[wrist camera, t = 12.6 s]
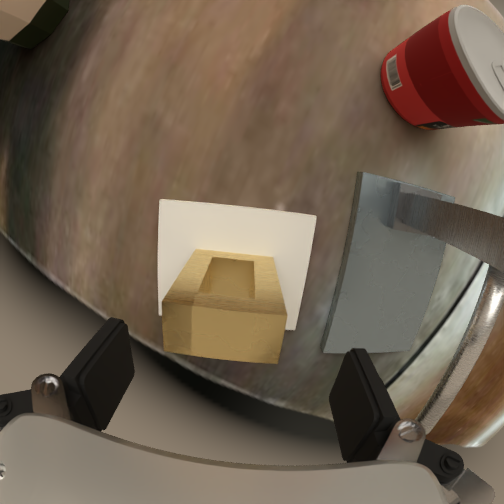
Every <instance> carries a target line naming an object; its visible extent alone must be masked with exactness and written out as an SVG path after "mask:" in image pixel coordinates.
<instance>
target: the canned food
mask: <svg viewBox="0 0 504 504" xmlns="http://www.w3.org/2000/svg"><path fill="white" fill-rule="evenodd" d="M381 83H382V86H383V90H384V92H385V95H386V97H387V99H388V101H389V102H390V104H391V106H392V107H393V108H394V110H395V111H396V112H397V113H398V114H399V115H400V116H401V117H402V118H403V119H404V120H406V121H407V122H408V123H410V124H412V125H414V126H416V127H419V128H422V129H426V130H436V129H445V128H454V127H464V126H476V125H491V124H504V33H503V32H502V30H501V29H500V28H499V27H498V26H497V25H496V24H495V23H494V22H493V21H492V20H491V19H490V18H489V17H488V16H487V15H486V14H484V13H483V12H481V11H480V10H478V9H476V8H474V7H472V6H469V5H460V6H458V7H455V8H453V9H451V10H450V11H448V12H446V13H444V14H443V15H441V16H440V17H438V18H437V19H435V20H434V21H432V22H431V23H429V24H428V25H426V26H425V27H423V28H422V29H421V30H419V31H418V32H416V33H415V34H413V35H412V36H411V37H409V38H408V39H406V40H405V41H404V42H402V43H401V44H400V45H398V46H397V47H396V48H394V49H393V50H392V51H390V52H389V53H388V54H387V56H386V57H385V59H384V61H383V64H382V67H381Z"/></svg>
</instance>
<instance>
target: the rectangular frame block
mask: <svg viewBox="0 0 504 504" xmlns="http://www.w3.org/2000/svg"><path fill="white" fill-rule="evenodd" d="M287 317H288V315H287V311H286V307H285V303H284V299H283V295H282V291H281V287H280V283H279V279H278V275H277V271H276V267H275V263H274V259H273V257H269V256H259V255H250V254H241V253H231V252H222V251H213V250H203V249H195V251H194V252H193V254H192V255H191V257H190V258H189V260H188V261H187V263H186V264H185V266H184V267H183V269H182V270H181V272H180V274H179V275H178V277H177V278H176V280H175V281H174V283H173V284H172V286H171V288H170V289H169V291H168V292H167V294H166V295H165V297H164V299H163V300H162V326H163V342H164V351H167V352H173V353H179V354H186V355H192V356H199V357H207V358H215V359H224V360H233V361H244V362H256V363H271V364H278V360H279V355H280V350H281V346H282V341H283V336H284V331H285V326H286V322H287Z"/></svg>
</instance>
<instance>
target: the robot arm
mask: <svg viewBox="0 0 504 504" xmlns="http://www.w3.org/2000/svg"><path fill="white" fill-rule="evenodd" d="M133 377H134V364H133V359H132V353H131V347H130V340H129V332H128V326H127V324H125V323H124V321H123V320H121V319H116V318H112V317H111V318H109V319H108V321H107V322H106V323H105V324H104V325H103V326H102V327H101V329H100V330H99V331H98V332H97V333H96V334H95V335H94V336H93V338H92V339H91V340H90V341H89V342H88V343H87V345H86V346H85V347H84V348H83V349H82V350H81V352H80V353H79V354H78V355H77V356H76V357H75V359H74V360H73V361H72V362H71V364H70V365H69V366H68V367H67V369H66V370H65V371H64V372H63V373H62V375H61V376H60V377H58V376H56V375H54V374H43V375H40V376H38V377H37V378H36V379H35V380H34V381H33V383H32V387H31V389H30V390H25V391H20V392H15V393H9V394H3V395H0V504H492V502H493V500H494V498H495V492H494V489H493V488H492V487H491V486H490V485H489V484H488V483H486V482H485V481H484V480H483V479H481V478H480V477H479V476H477V475H476V474H475V473H474V472H472V471H471V470H470V469H469V468H467V469H466V470H465V469H464V464H463V460H462V458H461V456H460V455H459V454H457V453H456V452H454V451H451V450H449V449H447V448H444V447H442V446H440V445H438V444H435V443H433V442H431V441H429V440H427V439H425V437H426V432H425V429H424V427H423V426H422V425H421V424H420V423H419V422H417V421H416V420H413V419H402V420H400V418H399V415H398V413H397V411H396V409H395V407H394V405H393V402H392V400H391V398H390V396H389V394H388V392H387V390H386V388H385V386H384V383H383V381H382V380H381V378H380V377H379V375H378V373H377V371H376V369H375V367H374V365H373V363H372V361H371V359H370V357H369V355H368V353H367V351H366V349H365V348H352V349H351V350H350V351H347V352H346V355H345V357H344V360H343V363H342V365H341V368H340V370H339V373H338V376H337V378H336V380H335V383H334V385H333V388H332V390H331V393H330V396H329V402H330V406H331V410H332V415H333V419H334V423H335V427H336V431H337V436H338V440H339V444H340V449H341V453H342V458H343V460H344V461H345V460H347V463H342V464H328V465H306V466H305V465H304V466H276V465H255V464H242V463H232V462H224V461H216V460H209V459H202V458H197V457H191V456H186V455H181V454H176V453H171V452H167V451H163V450H159V449H155V448H151V447H147V446H143V445H140V444H137V443H133V442H130V441H127V440H124V439H121V438H118V437H115V436H112V435H109V434H106V433H103V432H101V431H102V430H105V429H106V428H107V426H108V424H109V422H110V420H111V418H112V416H113V414H114V412H115V410H116V409H117V407H118V405H119V403H120V401H121V399H122V397H123V395H124V394H125V392H126V390H127V388H128V386H129V384H130V382H131V381H132V379H133Z"/></svg>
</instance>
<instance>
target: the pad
mask: <svg viewBox="0 0 504 504" xmlns="http://www.w3.org/2000/svg"><path fill="white" fill-rule="evenodd" d="M316 218H317V217H316V216H315V215H309V214H301V213H294V212H286V211H278V210H270V209H261V208H253V207H244V206H234V205H224V204H214V203H203V202H192V201H180V200H167V199H161V200H160V203H159V225H158V303H159V315H161V316H162V300H163V299H164V297H165V295H166V294H167V292H168V291H169V289H170V288H171V286H172V284H173V283H174V281H175V280H176V278H177V277H178V275H179V274H180V272H181V270H182V269H183V267H184V266H185V264H186V263H187V261H188V260H189V258H190V257H191V255H192V254H193V252H194V251H195V249H203V250H213V251H222V252H231V253H241V254H250V255H259V256H269V257H273V259H274V263H275V267H276V271H277V275H278V279H279V283H280V287H281V291H282V295H283V299H284V303H285V307H286V311H287V315H288V317H287V322H286V326H285V330H295V327H296V323H297V318H298V314H299V309H300V305H301V300H302V295H303V290H304V285H305V280H306V275H307V270H308V264H309V259H310V253H311V248H312V242H313V236H314V230H315V224H316Z"/></svg>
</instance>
